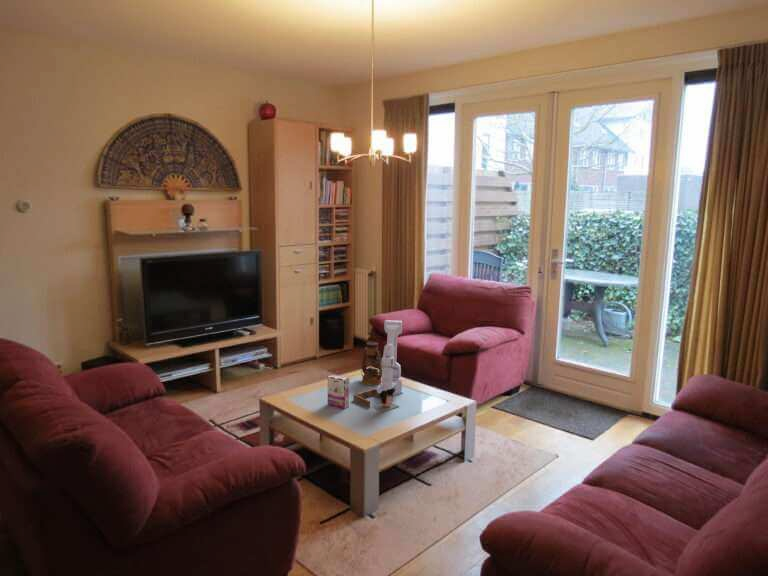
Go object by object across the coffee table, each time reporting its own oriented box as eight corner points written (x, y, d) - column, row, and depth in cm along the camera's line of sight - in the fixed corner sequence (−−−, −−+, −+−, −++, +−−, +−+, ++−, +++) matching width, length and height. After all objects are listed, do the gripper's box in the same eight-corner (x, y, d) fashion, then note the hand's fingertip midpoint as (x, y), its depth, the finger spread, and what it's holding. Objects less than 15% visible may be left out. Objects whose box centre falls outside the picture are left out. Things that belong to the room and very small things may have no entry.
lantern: (388, 383, 333) (390, 335, 328) (374, 388, 324) (375, 339, 319) (368, 376, 345) (370, 330, 339) (354, 381, 335) (355, 334, 330)
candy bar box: (349, 406, 296) (349, 377, 293) (344, 409, 291) (345, 380, 288) (332, 402, 301) (332, 373, 298) (327, 405, 296) (327, 376, 293)
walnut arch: (374, 394, 314) (374, 388, 314) (390, 400, 305) (390, 395, 304) (353, 400, 304) (353, 394, 303) (368, 407, 294) (368, 401, 294)
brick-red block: (385, 402, 298) (385, 394, 297) (391, 404, 296) (391, 396, 295) (380, 404, 295) (381, 396, 294) (386, 406, 293) (386, 398, 292)
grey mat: (389, 402, 302) (389, 401, 302) (399, 406, 297) (399, 406, 296) (373, 407, 294) (373, 406, 294) (382, 412, 289) (383, 411, 288)
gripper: (389, 373, 301) (388, 396, 303) (372, 379, 289) (372, 404, 292) (399, 376, 296) (398, 399, 299) (383, 383, 285) (382, 407, 288)
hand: (386, 402), depth 295 cm, fingers closed on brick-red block, 4 cm apart
